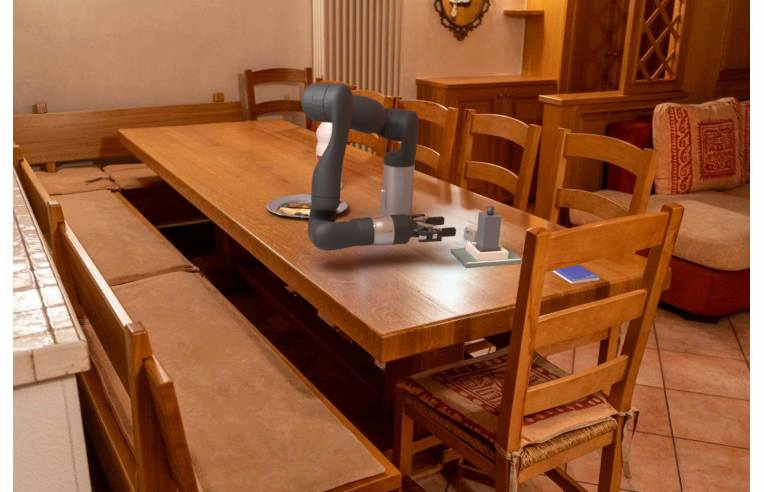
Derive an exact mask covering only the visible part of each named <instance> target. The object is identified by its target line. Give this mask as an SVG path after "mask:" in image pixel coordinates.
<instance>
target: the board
mask: <svg viewBox="0 0 764 492" xmlns="http://www.w3.org/2000/svg"><path fill="white" fill-rule="evenodd" d="M449 252H451V253H452V254H453V255H454V256H455V257H456V258H457V259H458V260H459V261H460V262H461V263H460V262H459V261H458V260H457V259H456V260H457V261H458V262H459V263H460V264H461V265H462V266H463V267H464V268H465V269H467V268H468V269H469V268H478V267H479V268H480V267H481V268H482V266H483V267H493V265H496V266H503V265H502V264H510V265H516V264H515V263H518V264H517V265H520V264H521V259H523V258H521V257H520V256H519V255H518V254H517V253H515V252H514V251H513V250H512V249H510V248H509V246H507V245H505V244H504V245H501V244H499V246H498V251H494V252H480V251H478V250H477V249H476V242H466V243H465V247H460V248H450V251H449ZM451 253H450V254H451ZM452 254H451V255H452ZM453 255H452V256H453ZM454 256H453V257H454ZM455 257H454V258H455ZM519 263H520V264H519ZM521 265H522V264H521Z"/></svg>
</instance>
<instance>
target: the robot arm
mask: <svg viewBox="0 0 764 492" xmlns="http://www.w3.org/2000/svg"><path fill="white" fill-rule="evenodd" d="M300 101H301V103H300V104H301V108H302V111H303V113H304V114H305V116H306V117H307V118H308V119H310V120H311V121H312V122H317V123H321V122H327V123H332V134H331V138H330V141H329V143H328V145H327V147H326V149H325V151H324V153H323V154H322V156H321V158H320V159H319V161H318V163H317V164H316V163H315V167H314V169H313V173H312V175H311V176H312V177H311V187H310V188H311V189H310V190H311V191H310V192H311V195H312V196H311V203H310V204H311V209H310V214H309V218H308V220H307V221H308V222H307V223H308V224H307V234H308V235H307V236H308V239H309V240H310V242H311V243H312V244H313V245H314V247H316V248H317V249H319V250H321V251H325V252H326V251H327V252H328V251H338V250H343V249H347V248H352V247H363V246H367V247H368V246H392V245H393V246H394V245H405V244H406V245H407V244H408V243H409V242H410V240H411V238H416V239H418V240H417V242H418V243H436V242H442V241H443V238H448V237H449V238H450V237H455V236H456V235H457V228H456V227H455V226H451V227H436V226H444V225H445V217H444V216H430V215H426V214H425V213H418V214H413V198H414V184H415V183H414V182H415V179H414V177H415V161H416V154H417V149H418V147H417V146H418V137H419V129H420V125H419V124H420V123H419V122H420V121H419V115H418V113H417V112H416V110H415V111H414V110H410V109H401V108H392V107H391V108H388V107H384V106H383V104H382V103H381V102H379V100H377V99H374V98H371V97H368V96H365V95H360V94H359V95H358V94H353V92H352V89H351V87H350V86H349V85H348V84H346V83H342V82H341V83H339V82H320V81H318V82H314V83H311V84H309V85H308V86H306V88H305V89H304V91H302V94H301V99H300ZM350 130H352V131H355V132H359V133H363V134H370V135H371V134H372V135H373V134H375V135H377V136H379V137H381V138H382V139H385V140H389V141H393V142H394V141H395V142H400V148H398V149H394V150H391V151H388V152H385V153H384V154H383V155H384V156H383V166H382V167H383V169H382V170H383V171H382V188H381V190H380V191H381V193H380V195H381V196H380V215H375V216H367V217H356V218H355V217H354V218H351V219H349V220H347V221H344V220H343V221H336V219H337V215H336V210H337V208H338V207H339V204H340V199H341V189H342V188H341V174H342V166H343V167H344V157H345V155H346V154H345V153H346V149H347V145H348V139H349V135H350Z"/></svg>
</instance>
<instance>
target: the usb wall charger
mask: <svg viewBox="0 0 764 492" xmlns="http://www.w3.org/2000/svg"><path fill="white" fill-rule="evenodd" d="M477 228H478V223H475V224H471V225H467V226H465V227H464V229H463V240H464V239H465V240H464V241H466V240H468V241H467V242H469V241H470V242H469V243H471V242H476V239H477Z"/></svg>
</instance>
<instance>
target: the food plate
mask: <svg viewBox="0 0 764 492" xmlns="http://www.w3.org/2000/svg"><path fill="white" fill-rule="evenodd" d="M311 196H312V195H311V194H310V193H309V194H308V193H303V194H300V193H299V194H292V195H287V196H286V195H285V196H284V195H283V196H280V197H276V198H275V199H274V198H273V199H272V200H271V201H270V202H268V203H267V204H266V208H267V209H268V211H269V212H272V213H273V214H277V215H279V216H286V217H289V218H290V217H291V218H301V219H304V218H308V219H309V214H310V209H311ZM349 208H350V205H349V203H348V202H347V201H346V200H345V199H342V198H340V204H339V207H338V208H337V210H336V216H337V215H340V214H342V213H344V212H345V211H346V210H347V209H349Z"/></svg>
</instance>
